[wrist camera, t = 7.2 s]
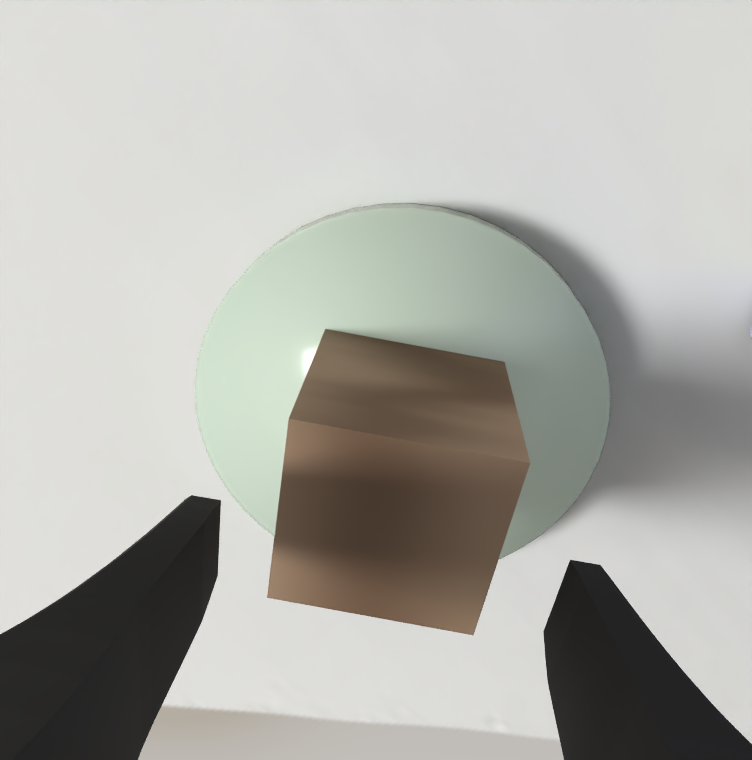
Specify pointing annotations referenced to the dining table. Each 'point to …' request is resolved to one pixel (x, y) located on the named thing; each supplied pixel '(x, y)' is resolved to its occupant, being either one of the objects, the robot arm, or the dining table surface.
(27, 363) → the dining table surface
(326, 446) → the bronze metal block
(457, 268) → the pale green domed disc
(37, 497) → the dining table surface
